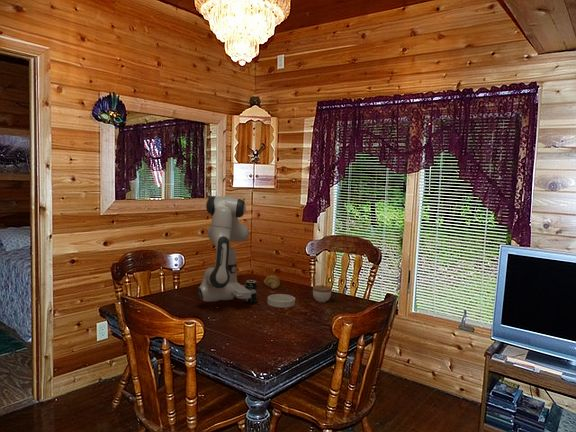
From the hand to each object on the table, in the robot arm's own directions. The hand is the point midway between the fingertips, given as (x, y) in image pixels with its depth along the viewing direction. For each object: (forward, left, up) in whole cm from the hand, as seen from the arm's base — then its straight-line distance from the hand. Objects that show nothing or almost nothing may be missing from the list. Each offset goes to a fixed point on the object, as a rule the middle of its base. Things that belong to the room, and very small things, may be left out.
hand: (252, 289), depth 231 cm
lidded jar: (+27, +30, -8) cm, 41 cm away
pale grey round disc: (+13, +10, -7) cm, 18 cm away
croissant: (-15, +36, -8) cm, 40 cm away
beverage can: (0, -1, -7) cm, 8 cm away
